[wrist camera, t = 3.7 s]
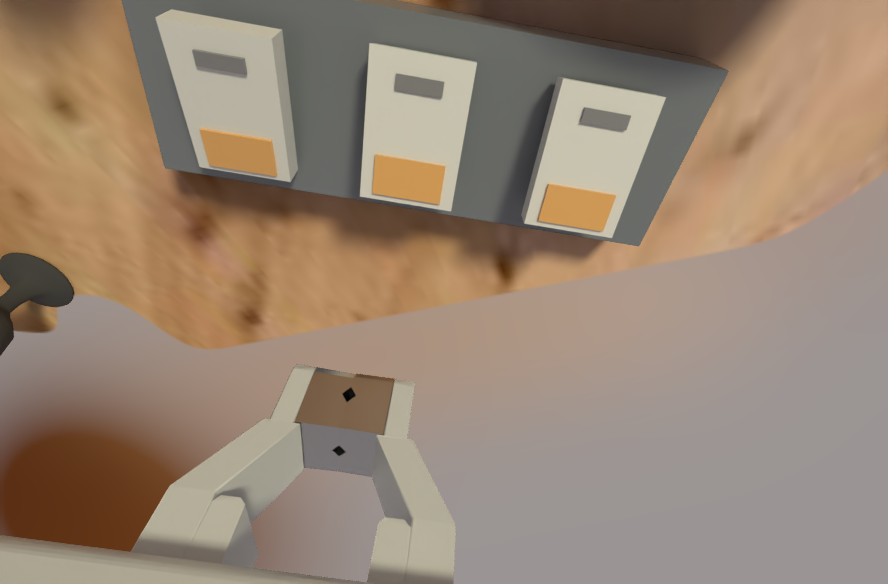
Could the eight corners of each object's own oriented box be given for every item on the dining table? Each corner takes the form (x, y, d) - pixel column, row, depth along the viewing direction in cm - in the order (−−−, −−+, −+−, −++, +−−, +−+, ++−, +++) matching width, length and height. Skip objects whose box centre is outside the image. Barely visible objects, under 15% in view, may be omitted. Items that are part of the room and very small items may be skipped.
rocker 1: (215, 150, 22) (198, 168, 21) (178, 6, 18) (153, 18, 16) (301, 164, 22) (289, 183, 21) (286, 25, 18) (270, 39, 17)
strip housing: (194, 148, 25) (164, 168, 23) (153, -46, 20) (109, -46, 17) (624, 220, 26) (639, 246, 24) (700, 58, 21) (728, 70, 19)
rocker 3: (519, 211, 22) (524, 224, 21) (555, 75, 19) (564, 78, 18) (602, 225, 23) (612, 239, 21) (650, 93, 19) (667, 97, 18)
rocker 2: (366, 186, 22) (359, 197, 20) (376, 43, 19) (368, 42, 17) (451, 200, 22) (450, 212, 21) (475, 61, 19) (477, 62, 17)
